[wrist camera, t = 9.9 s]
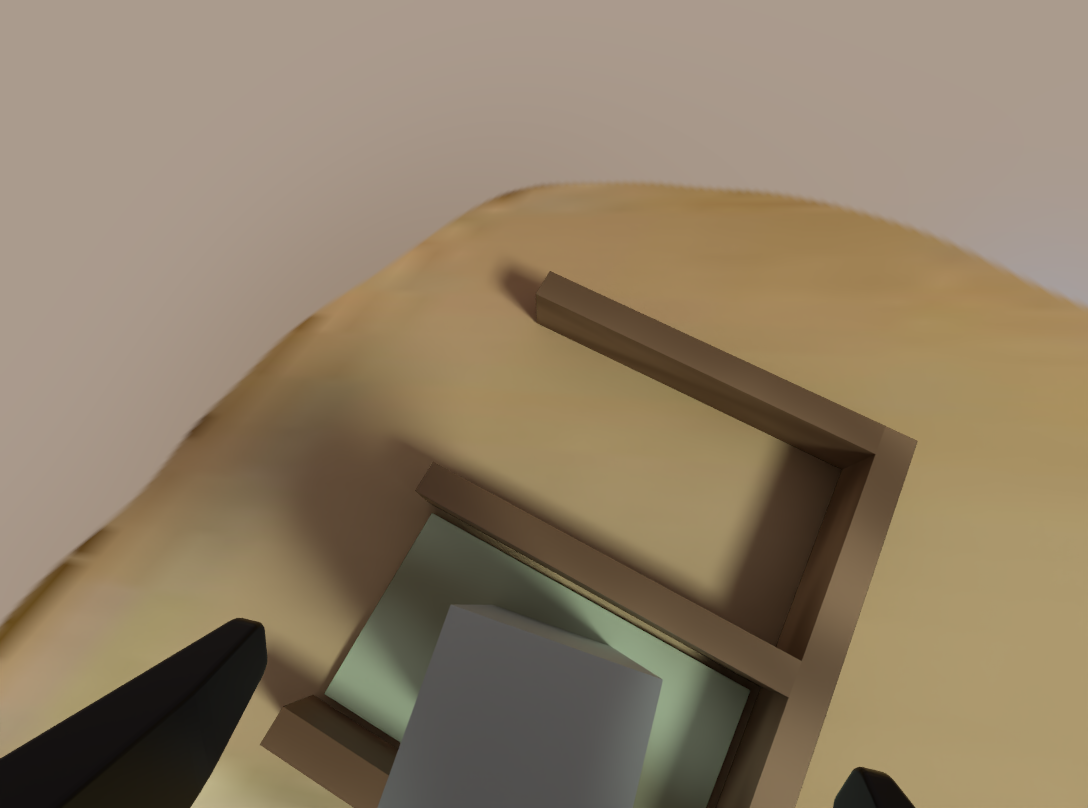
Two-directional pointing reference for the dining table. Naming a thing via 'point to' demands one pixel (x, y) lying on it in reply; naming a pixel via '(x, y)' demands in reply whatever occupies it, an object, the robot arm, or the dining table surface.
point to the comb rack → (629, 593)
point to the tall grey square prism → (523, 719)
